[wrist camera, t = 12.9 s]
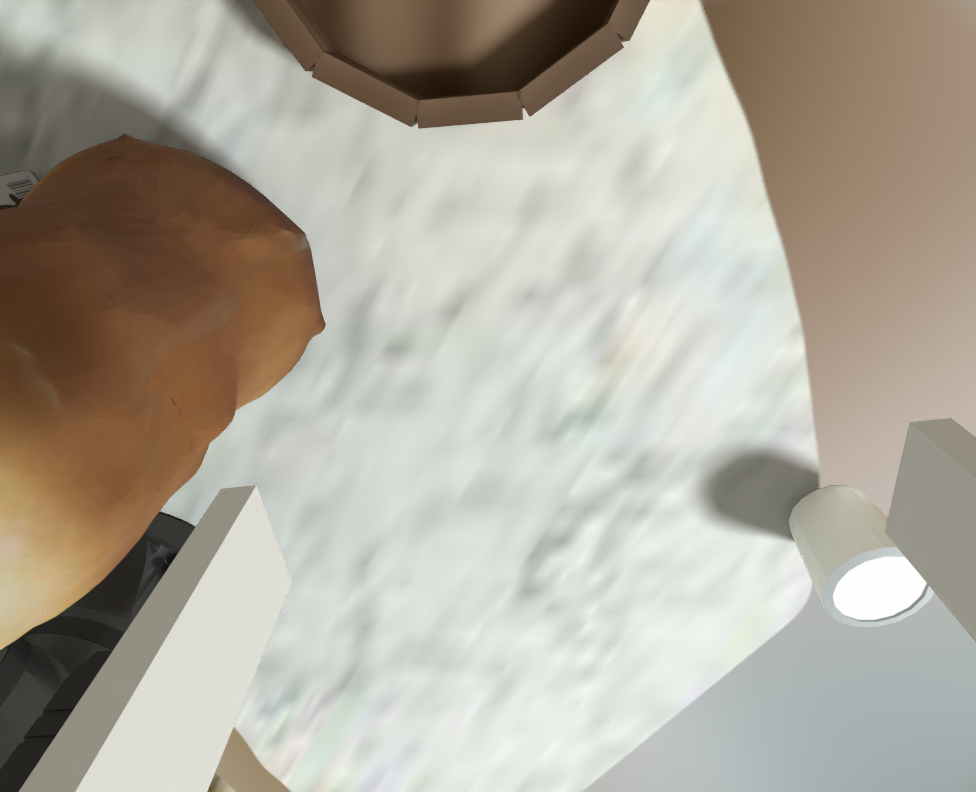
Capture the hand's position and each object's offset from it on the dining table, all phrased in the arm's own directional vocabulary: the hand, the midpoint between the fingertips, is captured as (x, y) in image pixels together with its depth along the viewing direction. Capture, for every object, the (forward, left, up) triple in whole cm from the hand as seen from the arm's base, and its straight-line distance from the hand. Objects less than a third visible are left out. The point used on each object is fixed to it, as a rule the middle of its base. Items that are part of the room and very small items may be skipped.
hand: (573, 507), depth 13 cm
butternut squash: (-18, 0, -25) cm, 31 cm away
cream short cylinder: (+20, -22, -25) cm, 39 cm away
